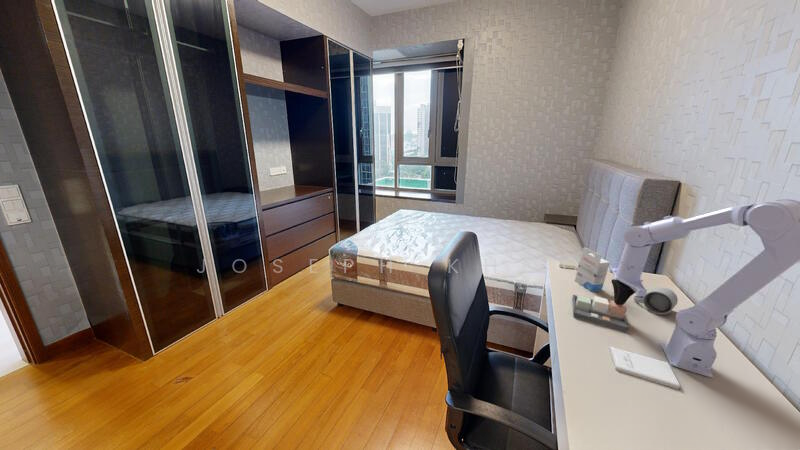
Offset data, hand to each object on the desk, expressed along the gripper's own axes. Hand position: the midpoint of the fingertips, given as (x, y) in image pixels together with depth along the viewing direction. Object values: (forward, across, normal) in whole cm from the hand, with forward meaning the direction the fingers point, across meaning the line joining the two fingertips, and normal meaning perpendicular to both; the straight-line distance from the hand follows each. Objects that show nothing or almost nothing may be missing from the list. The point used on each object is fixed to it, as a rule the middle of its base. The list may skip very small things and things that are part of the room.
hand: (618, 303), depth 91 cm
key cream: (+4, +2, +4) cm, 6 cm away
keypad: (+6, +2, +4) cm, 7 cm away
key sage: (+5, +3, +8) cm, 10 cm away
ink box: (+6, +21, -2) cm, 22 cm away
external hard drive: (+6, -21, +5) cm, 22 cm away
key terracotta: (+4, 0, 0) cm, 4 cm away
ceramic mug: (+6, +9, -17) cm, 20 cm away
